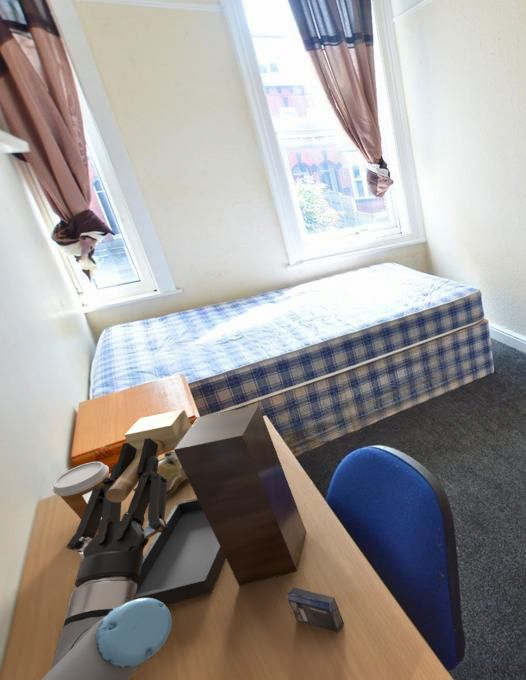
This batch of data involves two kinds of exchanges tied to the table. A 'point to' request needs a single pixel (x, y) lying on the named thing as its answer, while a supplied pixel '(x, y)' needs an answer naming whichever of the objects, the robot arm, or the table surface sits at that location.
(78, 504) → the disposable coffee cup
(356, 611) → the table surface
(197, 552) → the tray
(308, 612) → the mini dv tape
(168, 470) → the ceramic sculpture
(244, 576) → the stand
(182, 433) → the mallet
